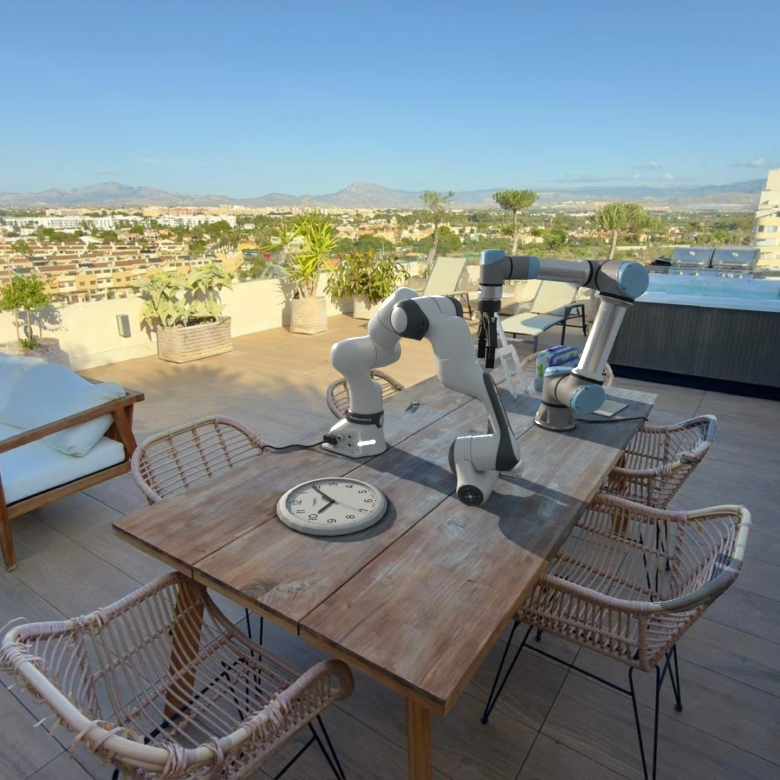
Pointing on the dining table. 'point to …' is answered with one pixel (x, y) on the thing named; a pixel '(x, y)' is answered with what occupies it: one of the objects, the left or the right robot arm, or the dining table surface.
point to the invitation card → (610, 408)
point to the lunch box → (554, 362)
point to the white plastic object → (505, 361)
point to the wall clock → (331, 506)
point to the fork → (413, 403)
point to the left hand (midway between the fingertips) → (493, 453)
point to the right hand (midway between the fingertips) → (485, 363)
